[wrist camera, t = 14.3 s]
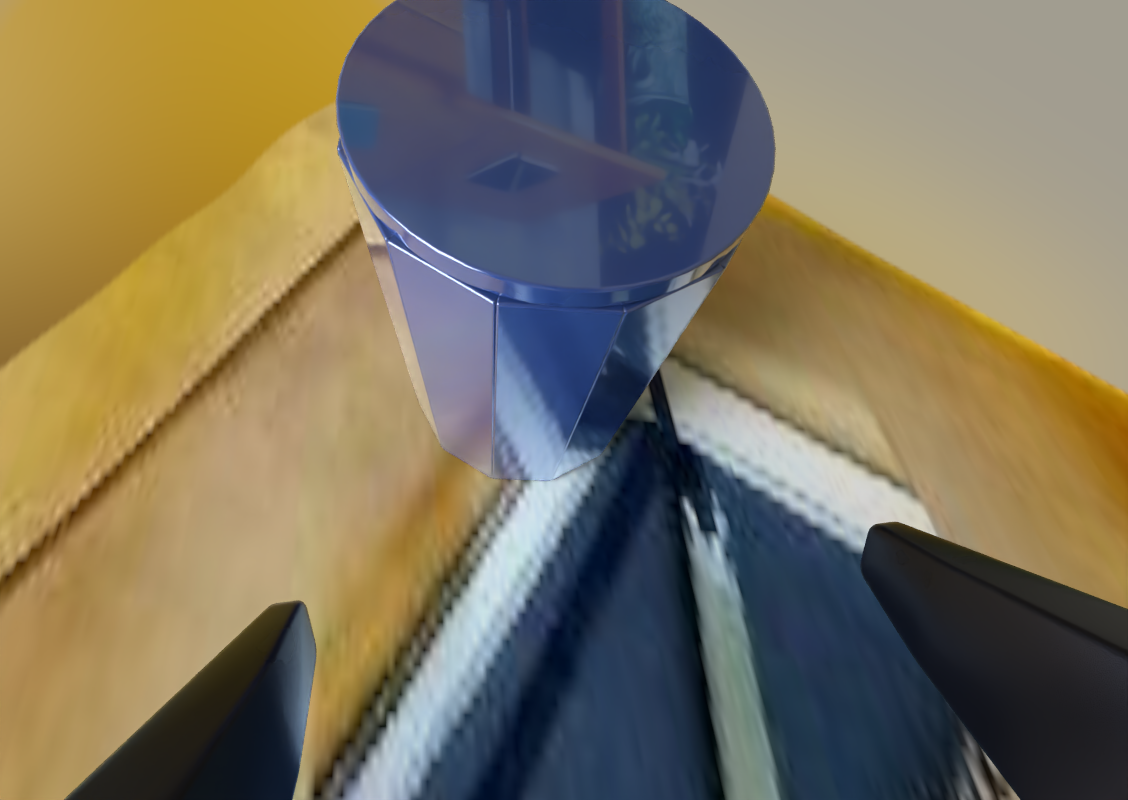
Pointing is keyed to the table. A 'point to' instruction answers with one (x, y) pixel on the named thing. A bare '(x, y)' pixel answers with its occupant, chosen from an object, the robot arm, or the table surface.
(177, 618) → the table surface
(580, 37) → the blue grey cylinder
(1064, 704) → the robot arm
